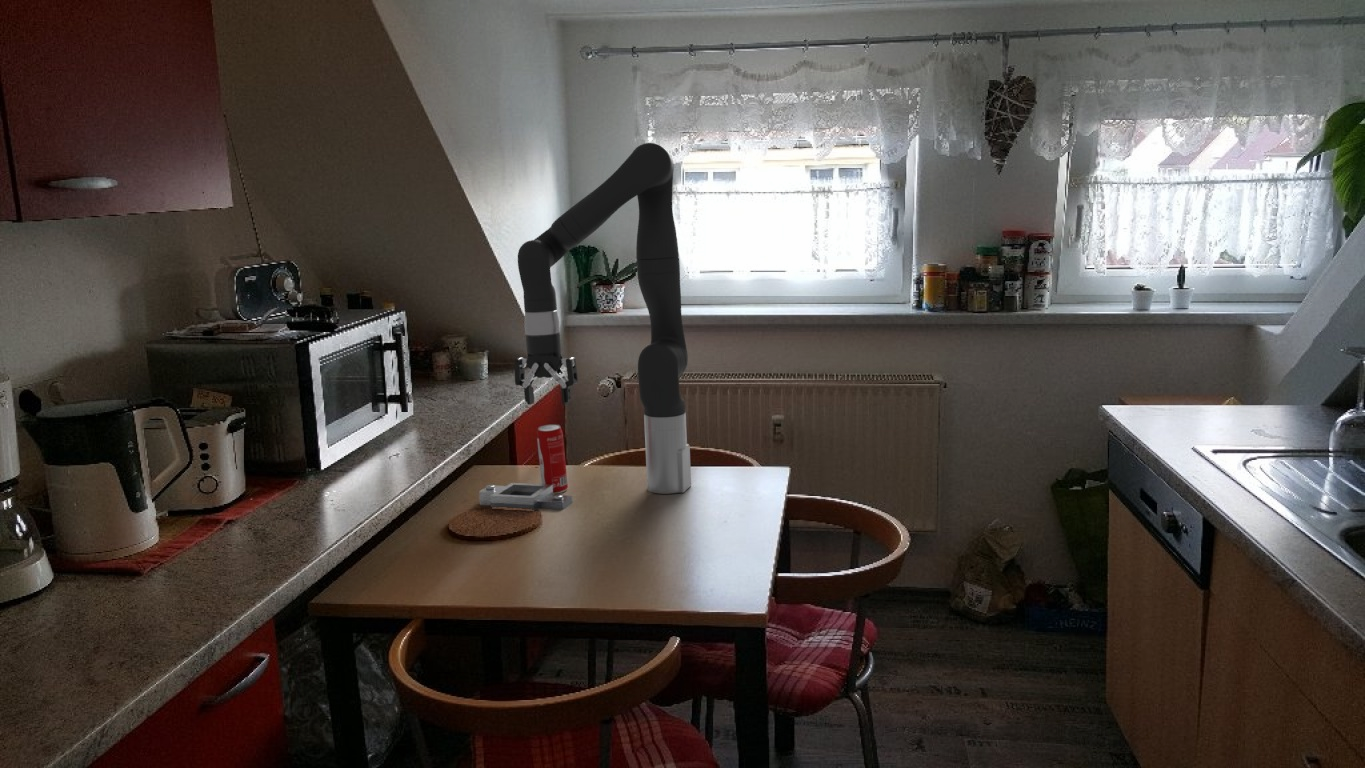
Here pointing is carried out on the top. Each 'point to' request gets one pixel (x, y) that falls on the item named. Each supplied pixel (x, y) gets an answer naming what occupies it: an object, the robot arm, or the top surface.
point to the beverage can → (552, 457)
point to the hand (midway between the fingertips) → (548, 404)
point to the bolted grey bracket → (523, 496)
